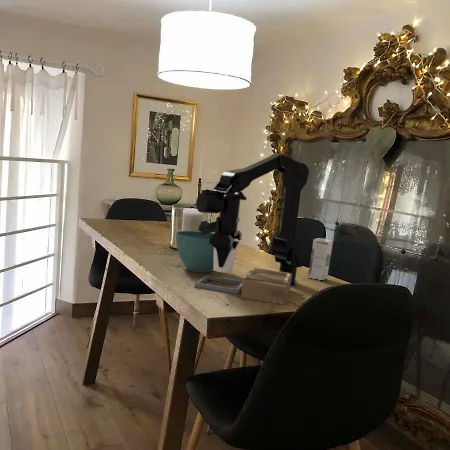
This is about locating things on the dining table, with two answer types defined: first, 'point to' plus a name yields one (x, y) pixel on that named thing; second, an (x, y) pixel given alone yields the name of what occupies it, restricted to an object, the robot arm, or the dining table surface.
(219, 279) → the grey square frame
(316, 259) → the syrup box
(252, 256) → the dining table surface
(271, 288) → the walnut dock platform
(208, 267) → the teal round bowl
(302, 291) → the dining table surface
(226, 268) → the shot glass
